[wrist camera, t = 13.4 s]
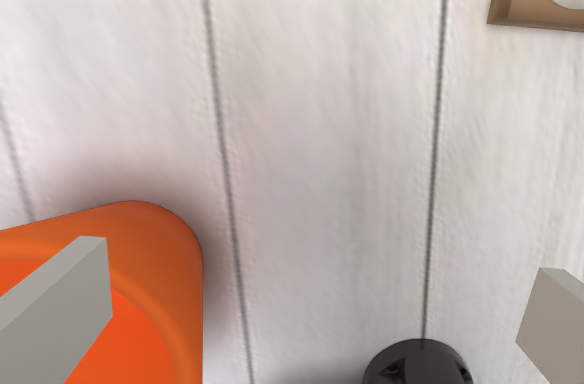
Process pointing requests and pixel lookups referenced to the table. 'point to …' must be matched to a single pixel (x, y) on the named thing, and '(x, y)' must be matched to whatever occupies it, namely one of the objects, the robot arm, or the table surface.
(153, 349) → the flowerpot
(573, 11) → the pedestal
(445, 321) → the table surface
